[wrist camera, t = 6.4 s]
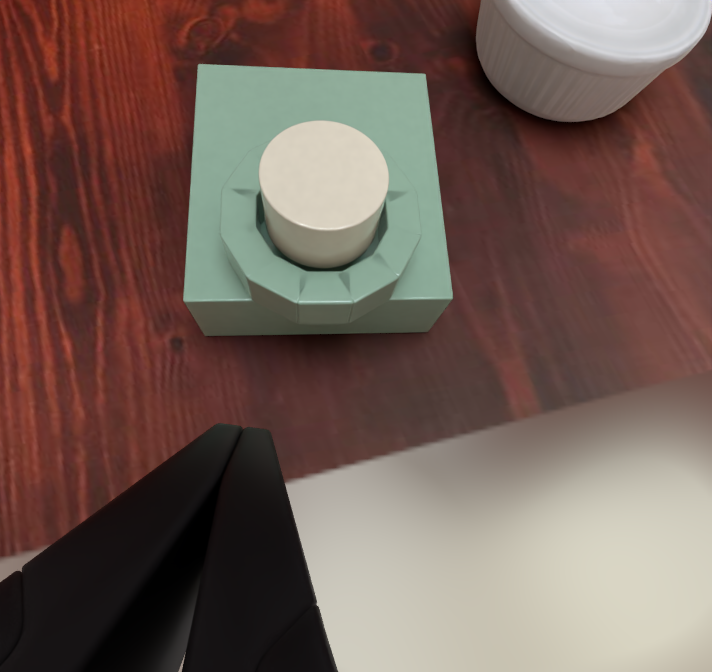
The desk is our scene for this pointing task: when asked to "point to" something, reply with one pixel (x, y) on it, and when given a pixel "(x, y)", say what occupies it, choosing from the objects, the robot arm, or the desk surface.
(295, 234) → the cream cylindrical button
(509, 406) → the desk surface
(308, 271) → the button base
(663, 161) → the desk surface
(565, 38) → the ramekin
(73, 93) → the desk surface
